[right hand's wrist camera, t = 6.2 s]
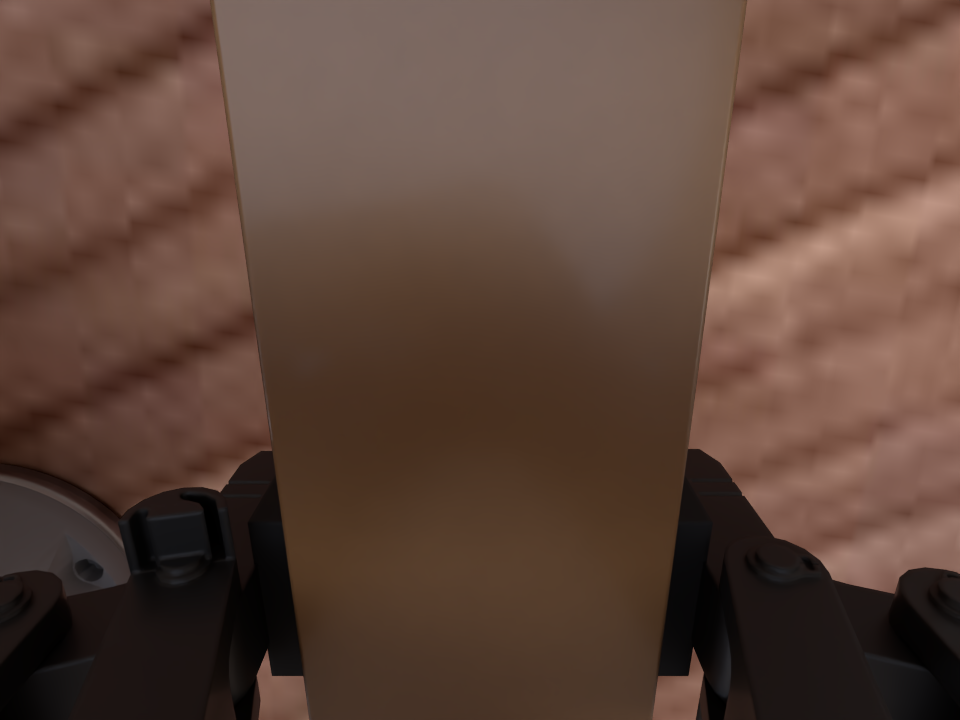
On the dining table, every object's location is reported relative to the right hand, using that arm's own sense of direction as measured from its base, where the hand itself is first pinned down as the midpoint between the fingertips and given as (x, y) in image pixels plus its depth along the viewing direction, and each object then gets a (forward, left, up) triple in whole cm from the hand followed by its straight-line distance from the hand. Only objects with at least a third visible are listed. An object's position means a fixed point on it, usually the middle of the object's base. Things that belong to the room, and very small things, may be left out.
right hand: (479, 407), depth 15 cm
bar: (+7, -20, -1) cm, 21 cm away
